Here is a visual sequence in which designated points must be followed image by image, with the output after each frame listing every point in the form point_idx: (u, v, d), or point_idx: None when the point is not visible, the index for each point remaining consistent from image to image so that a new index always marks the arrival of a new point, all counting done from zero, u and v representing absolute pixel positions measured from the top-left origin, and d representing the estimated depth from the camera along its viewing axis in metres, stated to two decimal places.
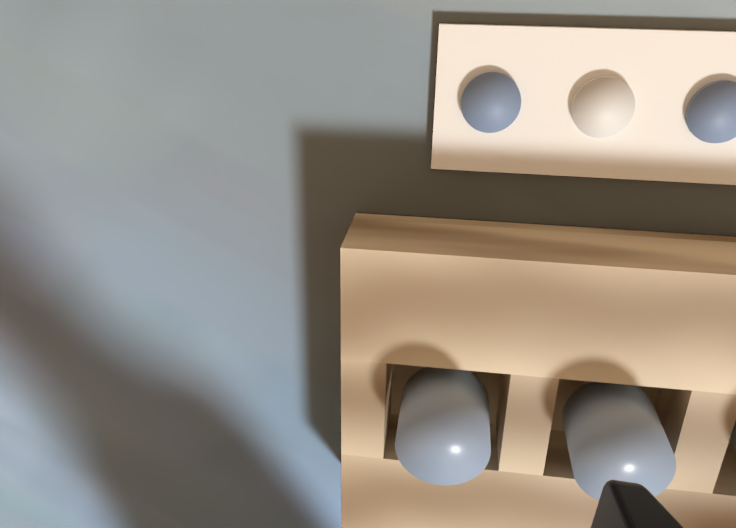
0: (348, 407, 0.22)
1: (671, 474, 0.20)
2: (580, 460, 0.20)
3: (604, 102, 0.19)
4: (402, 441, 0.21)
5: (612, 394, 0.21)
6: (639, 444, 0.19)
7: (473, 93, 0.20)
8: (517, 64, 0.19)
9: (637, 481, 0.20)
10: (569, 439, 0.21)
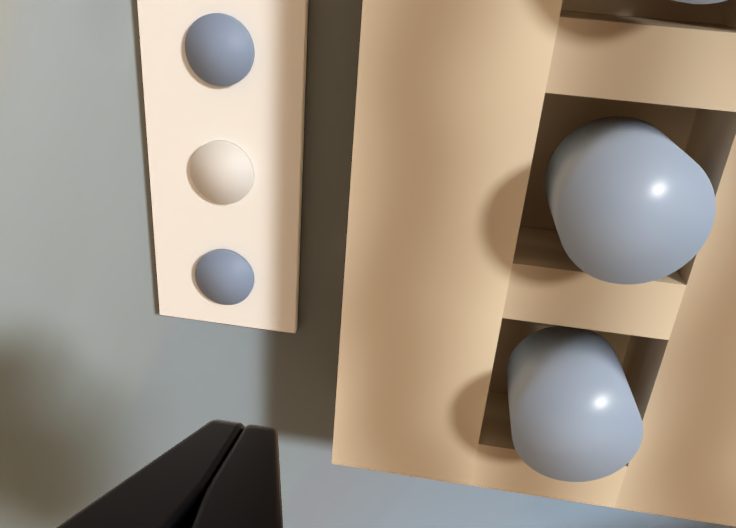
0: (540, 489, 0.18)
1: (657, 149, 0.12)
2: (614, 274, 0.14)
3: (215, 172, 0.18)
4: (560, 472, 0.16)
5: (548, 194, 0.15)
6: (590, 197, 0.13)
7: (215, 293, 0.20)
8: (188, 250, 0.20)
9: (667, 196, 0.13)
10: None
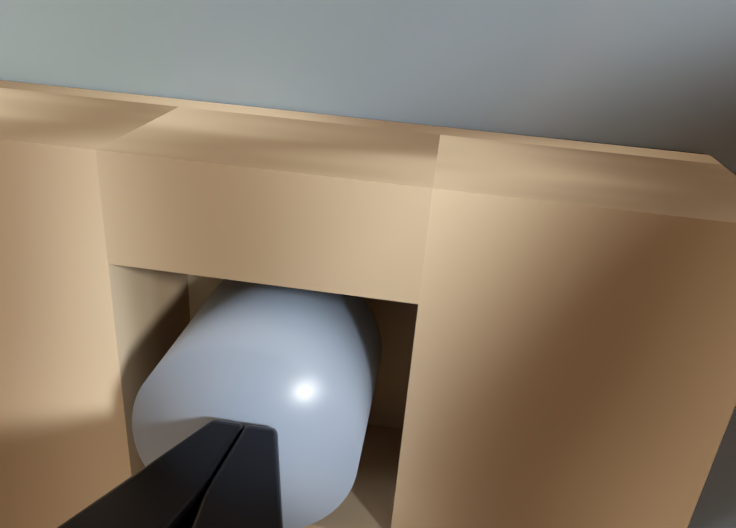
0: None
1: None
2: None
3: None
4: None
5: None
6: None
7: None
8: None
9: None
10: None
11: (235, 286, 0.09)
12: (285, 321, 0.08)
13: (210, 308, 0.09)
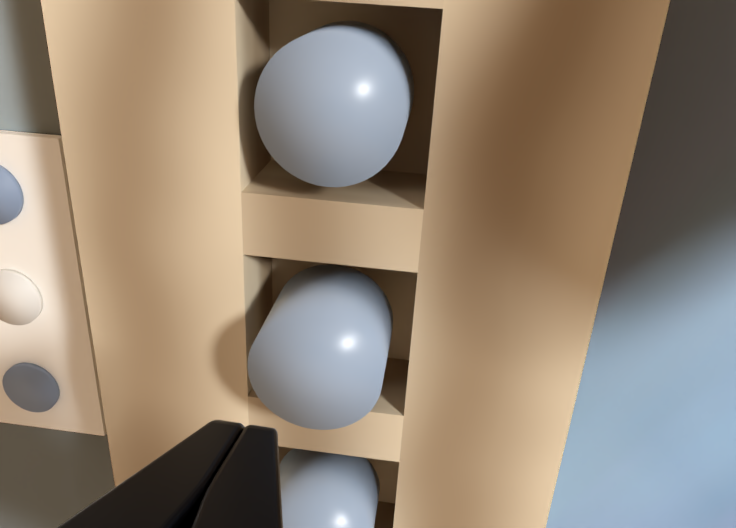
0: None
1: (318, 319, 0.14)
2: (308, 421, 0.15)
3: (5, 298, 0.19)
4: None
5: None
6: (272, 358, 0.14)
7: (24, 402, 0.21)
8: None
9: (337, 358, 0.14)
10: None
11: None
12: (354, 31, 0.13)
13: None
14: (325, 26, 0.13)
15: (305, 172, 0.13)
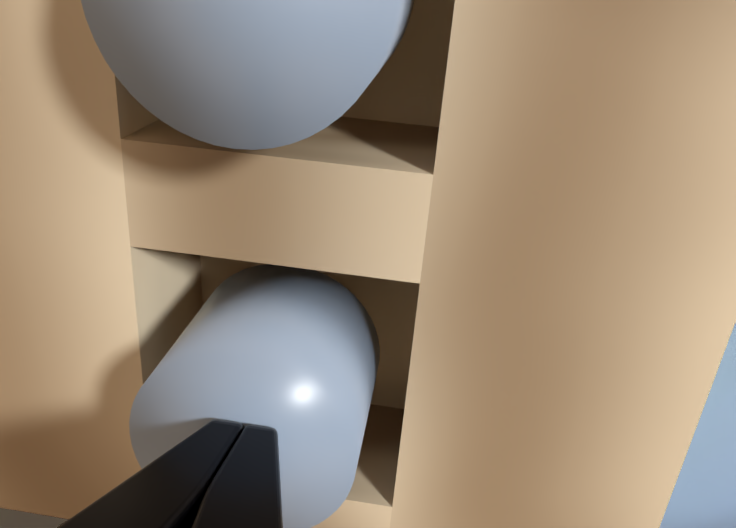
0: None
1: None
2: (224, 128, 0.06)
3: None
4: None
5: None
6: None
7: None
8: None
9: None
10: None
11: None
12: None
13: None
14: None
15: None
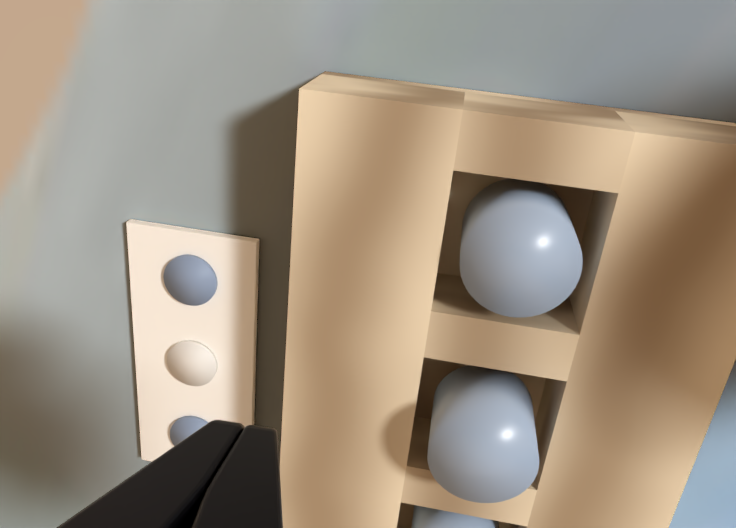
0: None
1: (494, 419, 0.17)
2: (470, 495, 0.18)
3: (186, 364, 0.23)
4: None
5: None
6: (449, 446, 0.18)
7: None
8: (165, 415, 0.24)
9: (504, 449, 0.17)
10: None
11: (501, 188, 0.17)
12: (542, 201, 0.16)
13: (493, 197, 0.17)
14: (513, 189, 0.17)
15: (492, 304, 0.17)
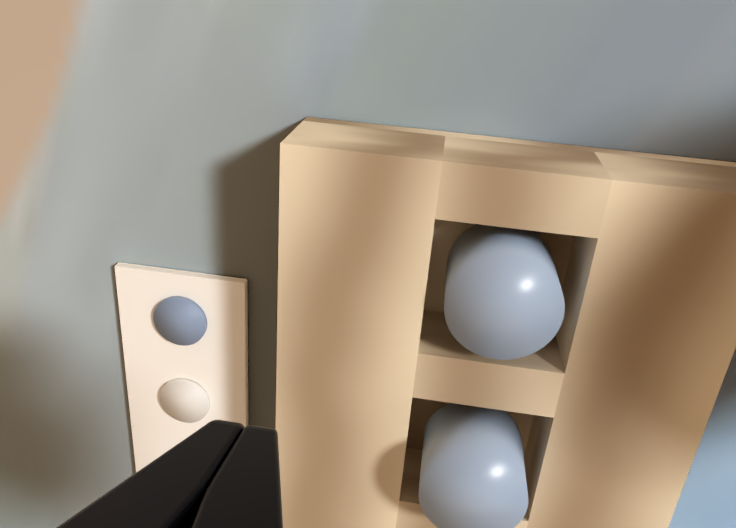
0: None
1: (483, 460, 0.17)
2: None
3: (179, 401, 0.23)
4: None
5: None
6: (439, 485, 0.18)
7: None
8: (160, 450, 0.25)
9: (493, 487, 0.18)
10: None
11: (483, 232, 0.18)
12: (524, 246, 0.17)
13: (476, 242, 0.17)
14: (495, 233, 0.17)
15: (478, 347, 0.17)
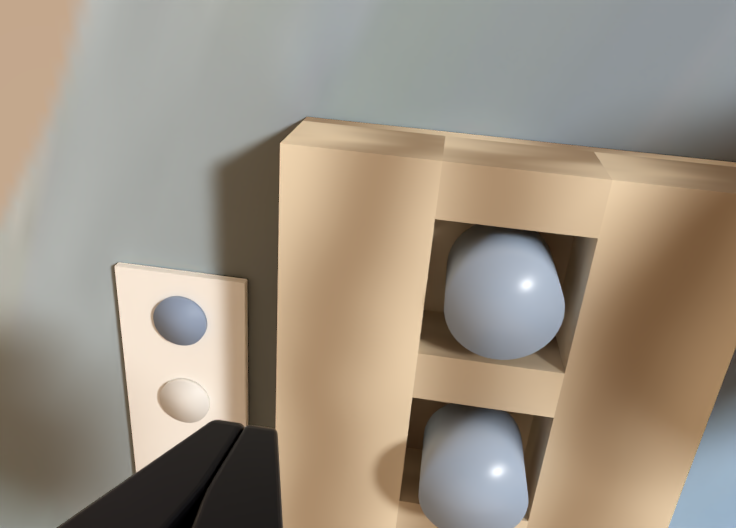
0: None
1: (483, 460, 0.17)
2: None
3: (179, 401, 0.23)
4: None
5: None
6: (439, 485, 0.18)
7: None
8: (160, 450, 0.25)
9: (493, 487, 0.18)
10: None
11: (483, 232, 0.18)
12: (524, 246, 0.17)
13: (476, 242, 0.17)
14: (495, 233, 0.17)
15: (478, 347, 0.17)
